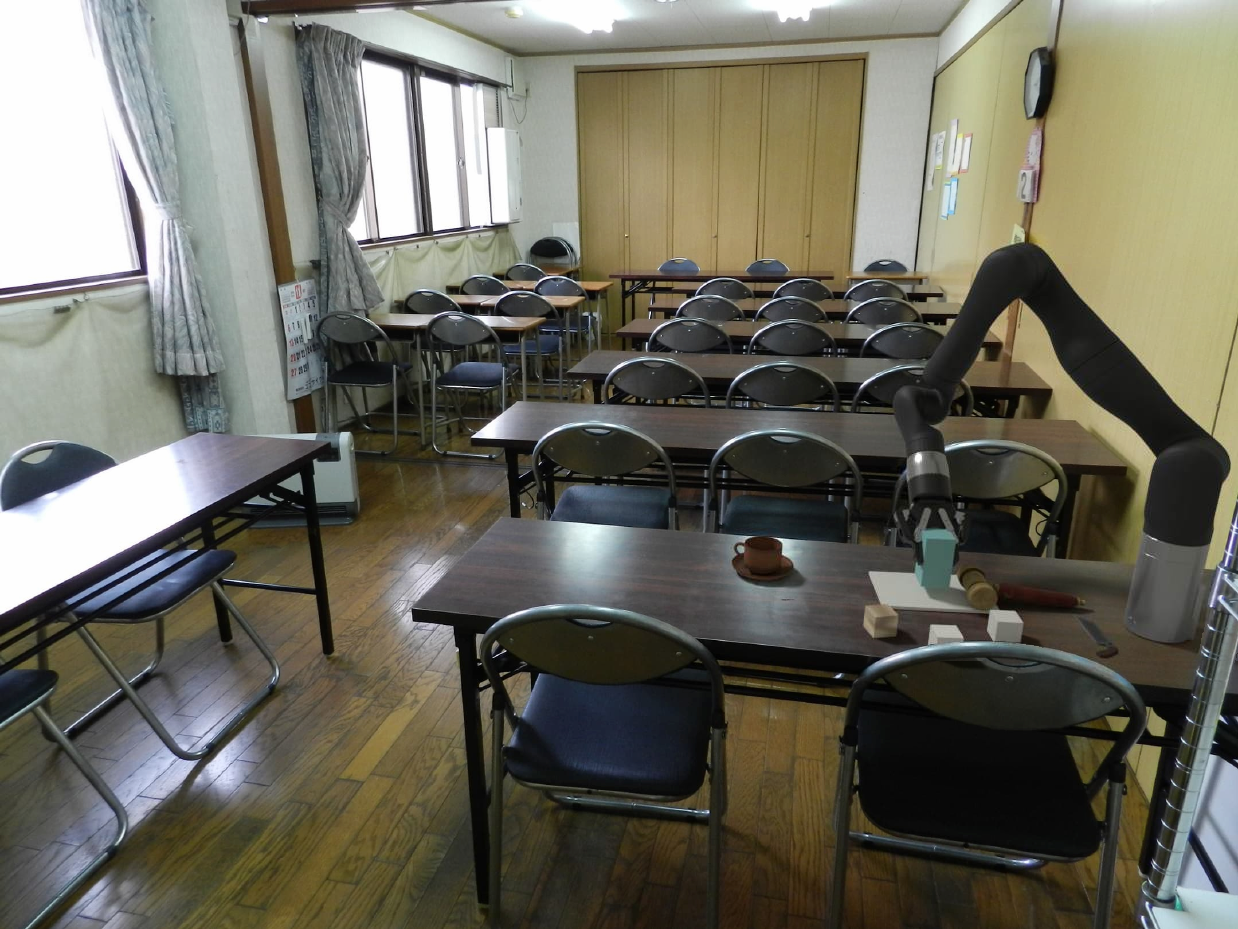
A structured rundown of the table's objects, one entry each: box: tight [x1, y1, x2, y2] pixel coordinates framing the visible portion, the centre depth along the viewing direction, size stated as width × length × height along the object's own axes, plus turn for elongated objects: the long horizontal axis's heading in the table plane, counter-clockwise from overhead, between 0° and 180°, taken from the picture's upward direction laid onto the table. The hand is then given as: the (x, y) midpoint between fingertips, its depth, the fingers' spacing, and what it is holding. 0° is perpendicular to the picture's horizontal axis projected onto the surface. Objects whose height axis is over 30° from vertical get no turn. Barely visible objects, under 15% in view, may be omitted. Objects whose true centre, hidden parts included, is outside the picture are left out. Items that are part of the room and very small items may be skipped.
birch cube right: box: [863, 603, 899, 639], centre depth 135 cm, size 4×4×4 cm
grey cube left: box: [986, 609, 1025, 643], centre depth 133 cm, size 4×4×4 cm
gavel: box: [956, 562, 1087, 611], centre depth 143 cm, size 21×5×10 cm
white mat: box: [868, 570, 1000, 615], centre depth 148 cm, size 20×14×1 cm
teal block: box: [914, 528, 956, 588], centre depth 146 cm, size 5×5×10 cm
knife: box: [1072, 614, 1118, 659], centre depth 133 cm, size 14×4×1 cm, turn 171°
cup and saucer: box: [731, 535, 795, 581], centre depth 157 cm, size 12×12×6 cm
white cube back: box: [927, 624, 964, 646], centre depth 128 cm, size 4×4×4 cm
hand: (937, 564), depth 145 cm, fingers closed on teal block, 5 cm apart
